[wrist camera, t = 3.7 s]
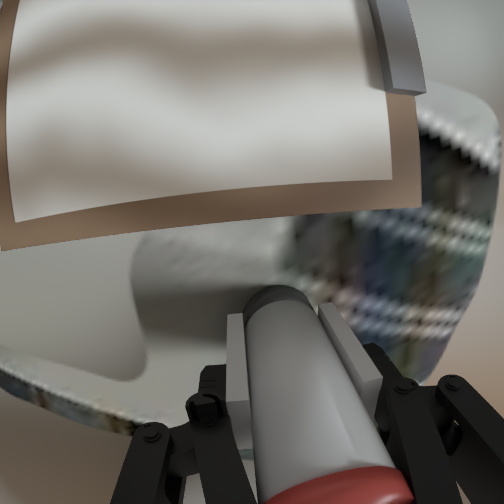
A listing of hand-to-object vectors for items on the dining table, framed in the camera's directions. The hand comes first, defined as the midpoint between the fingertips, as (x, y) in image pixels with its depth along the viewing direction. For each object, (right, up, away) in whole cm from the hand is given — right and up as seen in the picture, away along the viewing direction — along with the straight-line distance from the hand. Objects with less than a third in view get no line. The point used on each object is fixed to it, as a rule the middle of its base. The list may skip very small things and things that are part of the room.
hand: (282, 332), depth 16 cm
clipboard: (-5, +14, -3) cm, 16 cm away
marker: (0, 0, +2) cm, 2 cm away
